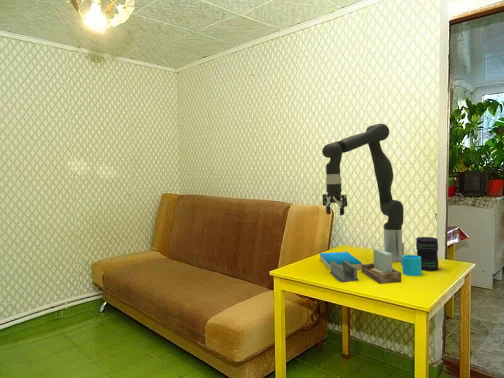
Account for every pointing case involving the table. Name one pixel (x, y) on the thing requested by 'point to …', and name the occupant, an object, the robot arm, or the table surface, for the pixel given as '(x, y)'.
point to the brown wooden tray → (381, 274)
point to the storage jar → (427, 253)
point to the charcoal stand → (344, 271)
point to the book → (339, 259)
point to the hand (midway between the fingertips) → (335, 214)
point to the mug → (411, 265)
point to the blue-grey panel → (382, 260)
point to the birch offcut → (376, 271)
